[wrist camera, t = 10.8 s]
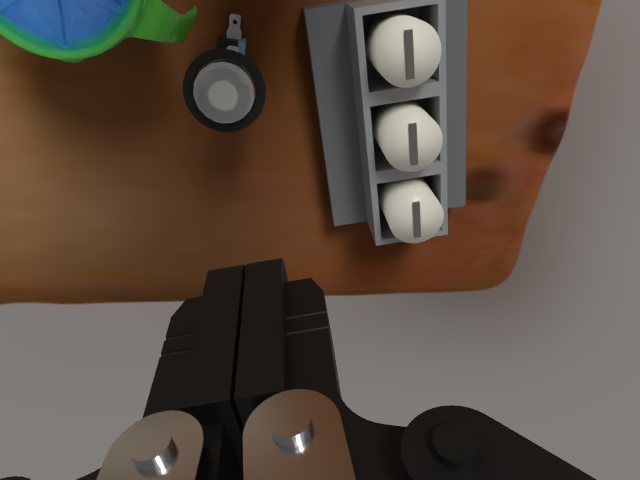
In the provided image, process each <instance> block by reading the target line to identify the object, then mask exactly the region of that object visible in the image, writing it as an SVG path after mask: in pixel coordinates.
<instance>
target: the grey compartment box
mask: <svg viewBox="0 0 640 480" xmlns="http://www.w3.org/2000/svg"><path fill="white" fill-rule="evenodd" d="M467 9H468V0H340V1H334V2H328V3H321V4H315V5H309V6H303V14H304V21H305V28H306V35H307V42H308V49H309V57H310V64H311V71H312V78H313V85H314V92H315V100H316V107H317V114H318V121H319V128H320V135H321V142H322V150H323V157H324V164H325V171H326V178H327V185H328V193H329V200H330V207H331V213H332V218H333V222H334V226H340V225H346V224H352V223H359V222H365V221H367V222H368V225H369V228H370V230H371V233H372V236H373V239H374V242H375V244H376V246H378V245H385V244H391V243H397V242H403V241H401V240H399V239H398V238H396V237H395V236H394V235H393V233H392V231H391V229H390V227H389V225H388V222H387V220H386V218H385V215H384V213H383V211H382V208H381V206H380V204H379V201H378V193H377V184H379V183H386V182H392V181H398V180H405V179H411V178H417V177H422V178H423V179H424V181H425V182H426V183H427V185H428V186H429V188H430V189H431V191H432V192H433V194H434V195H435V197H436V198H437V200H438V201H439V202H440V204H441V206H442V208H443V212H444V219H443V223H442V225H441V227H440V229H439V230H438V232H437V233H436V234H435V235H434V236H432V237H435V236H442V235H448V208H454V207H460V206H466V108H467ZM387 11H399V12H402V13H404V14H407V15H409V16H412V17H415V18H417V19H420V20H422V21H425V22H426V23H428V24H429V25H431V26H432V27H433V28H434V29H435V31H436V32H437V34H438V36H439V39H440V42H441V58H440V62H439V64H438V67H437V69H436V70H435V72H434V73H433V75H432V76H431V77H430V78H429V79H428V80H426V81H425V82H424V83H422V84H420V85H418V86H415V87H411V88H401V87H397V86H394V85H392V84H391V83H389V82H388V81H387V80H386V79H385V78H384V77H383V76H382V75H381V74H380V73H379V72H378V71H377V70H376V69H375V68H374V67H373V66H372V65H371V64H370V62H369V61H368V60H367V58H366V54H365V42H364V32H365V29H366V27H367V25H368V24H369V22H370V21H371V20H372V19H373V18H374V17H376V16H377V15H379V14H380V13H383V12H387ZM409 100H414V101H415V102H416V103H417V104H418V105H419V106H420V107H421V108H422V109H423V110H424V111H425V112H426V113H427V114H428V115H429V116H430V117H431V118H432V119H433V120H434V121H435V122H436V123H437V124H438V125H439V127H440V129H441V132H442V136H443V143H442V148H441V151H440V153H439V155H438V156H437V158H436V159H435V160H434V161H433V162H432V163H431V164H430V165H429V166H427V167H426V168H424V169H422V170H419V171H415V172H405V171H401V170H398V169H396V168H395V167H393V166H392V165H391V164H390V163H389V162H388V160H387V159H386V157H385V155H384V153H383V152H382V150H381V148H380V146H379V145H378V143H377V141H376V139H375V138H374V136H373V134H372V123H371V112H372V109H373V108H374V106H378V105H384V104H390V103H397V102H403V101H409Z"/></svg>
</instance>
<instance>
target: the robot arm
mask: <svg viewBox="0 0 640 480" xmlns="http://www.w3.org/2000/svg"><path fill="white" fill-rule="evenodd" d="M0 480H30V479H29V478H25V477H17V476H14V477H7V478H3V479H0ZM77 480H596V479H594V478H592V477H591V476H589V475H588V474H586V473H584V472H582V471H581V470H579V469H577V468H576V467H574V466H572V465H571V464H569V463H567V462H565V461H564V460H562V459H560V458H559V457H557V456H555V455H554V454H552V453H550V452H548V451H547V450H545V449H543V448H542V447H540V446H538V445H537V444H535V443H533V442H531V441H530V440H528V439H526V438H525V437H523V436H521V435H519V434H518V433H516V432H514V431H513V430H511V429H509V428H508V427H506V426H504V425H502V424H501V423H499V422H497V421H496V420H494V419H492V418H491V417H489V416H487V415H485V414H483V413H481V412H479V411H477V410H474V409H471V408H467V407H462V406H440V407H436V408H432V409H429V410H427V411H425V412H423V413H421V414H420V415H418V416H417V417H416V418H414V419H413V420H412V421H411V423H410V424H409V425H408V426H407V427H401V426H394V425H385V424H380V423H375V422H372V421H369V420H366V419H364V418H362V417H360V416H358V415H357V414H355V413H354V412H352V411H351V410H350V409H349V408H348V407H347V406H346V405H345V403H344V402H343V400H342V398H341V393H340V387H339V380H338V373H337V367H336V360H335V353H334V347H333V341H332V336H331V330H330V325H329V319H328V314H327V308H326V302H325V297H324V292H323V290H322V289H321V288H320V287H319V286H318V285H317V284H316V283H315V282H314V281H313V280H312V279H311V278H308V279H302V280H296V281H290V282H288V278H287V274H286V269H285V265H284V262H283V259H282V258H280V259H274V260H268V261H262V262H256V263H250V264H247V265H246V266H245V265H239V266H233V267H227V268H222V269H216V270H210V271H208V273H207V277H206V282H205V287H204V292H203V296H202V297H197V298H191V299H186V300H185V301H184V302H183V304H182V305H181V306H180V307H179V309H178V310H177V311H176V312H175V313H174V315H173V316H172V317H171V320H170V323H169V327H168V330H167V334H166V341H164V345H163V348H162V352H161V357H160V359H159V362H158V366H157V369H156V373H155V376H154V380H153V383H152V387H151V390H150V394H149V397H148V401H147V404H146V408H145V412H144V415H143V418H142V419H141V420H139V421H137V422H136V423H134V424H133V425H131V426H130V427H128V428H127V429H126V430H125V431H124V432H123V433H122V434H121V435H120V436H119V437H118V438H117V439H116V440H115V442H114V443H113V444H112V446H111V448H110V449H109V451H108V453H107V455H106V457H105V460H104V462H103V464H102V467H101V468H100V469H98V470H96V471H94V472H92V473H90V474H88V475H86V476H84V477H81V478H79V479H77Z"/></svg>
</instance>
